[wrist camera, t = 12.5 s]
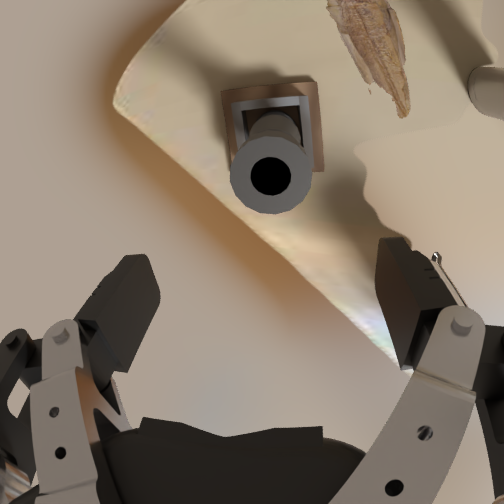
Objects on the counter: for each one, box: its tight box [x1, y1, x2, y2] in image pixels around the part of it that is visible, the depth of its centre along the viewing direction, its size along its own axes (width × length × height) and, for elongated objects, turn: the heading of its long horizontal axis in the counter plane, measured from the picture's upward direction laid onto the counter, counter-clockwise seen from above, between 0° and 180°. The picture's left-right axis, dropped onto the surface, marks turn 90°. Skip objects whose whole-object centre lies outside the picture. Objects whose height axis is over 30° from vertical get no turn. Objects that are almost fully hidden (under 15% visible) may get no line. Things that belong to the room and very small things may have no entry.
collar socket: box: [221, 82, 324, 172], centre depth 40 cm, size 14×14×6 cm
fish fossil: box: [326, 0, 411, 118], centre depth 34 cm, size 26×10×1 cm, turn 26°
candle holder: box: [230, 110, 312, 214], centre depth 31 cm, size 6×6×25 cm
